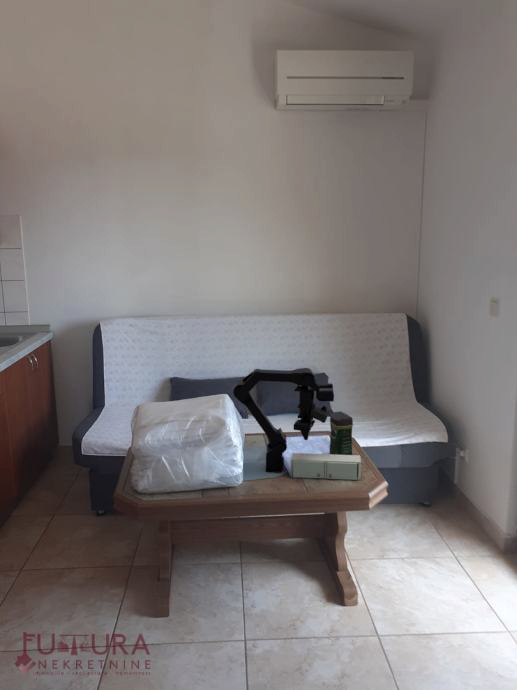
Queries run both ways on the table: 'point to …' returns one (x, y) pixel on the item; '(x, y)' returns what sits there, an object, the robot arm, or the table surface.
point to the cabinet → (334, 464)
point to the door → (307, 469)
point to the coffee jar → (341, 434)
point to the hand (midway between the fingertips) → (306, 439)
